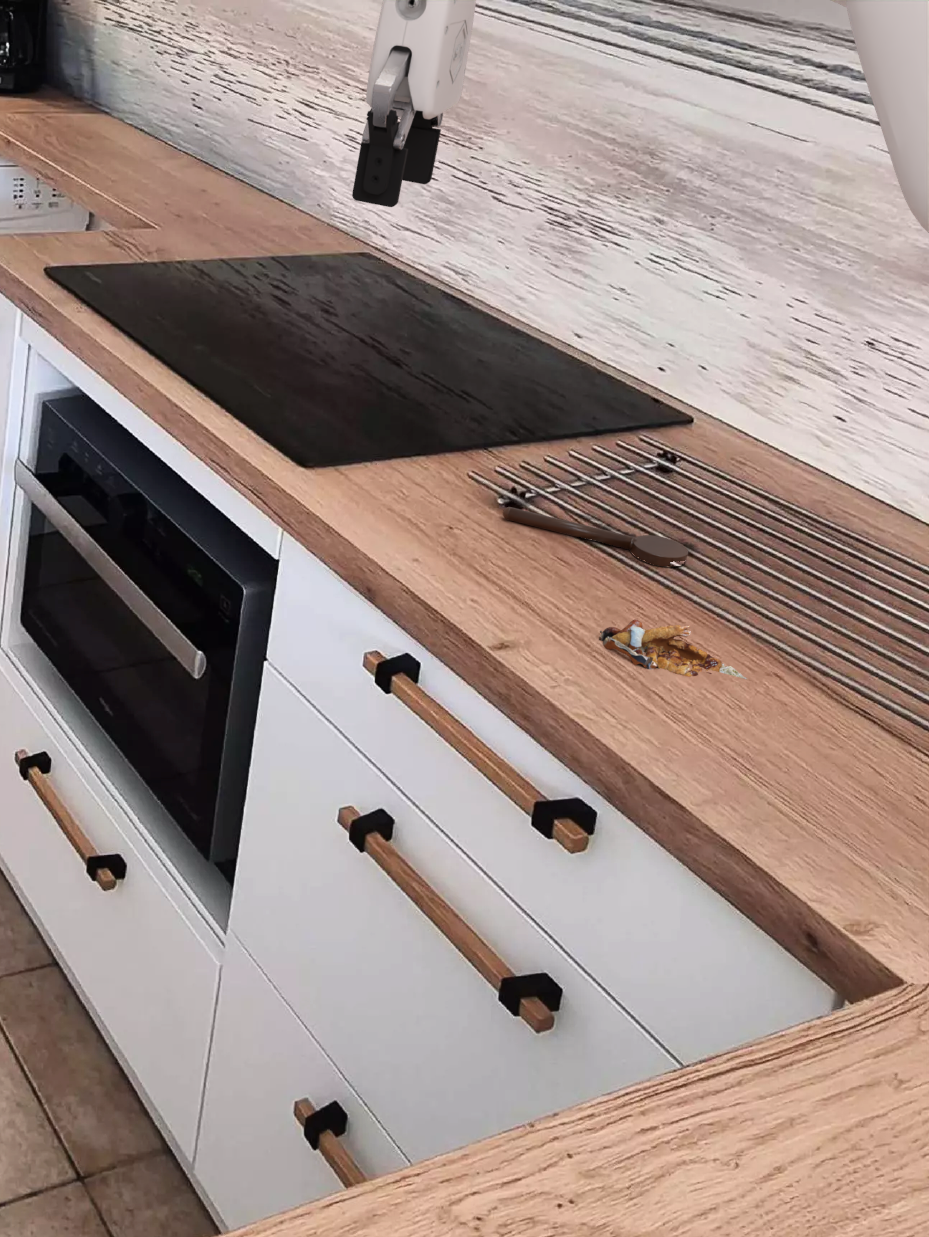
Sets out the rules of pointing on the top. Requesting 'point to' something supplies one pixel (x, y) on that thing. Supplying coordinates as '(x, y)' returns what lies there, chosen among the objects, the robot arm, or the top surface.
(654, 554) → the walnut spoon
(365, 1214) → the top surface
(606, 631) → the pastry
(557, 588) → the top surface
